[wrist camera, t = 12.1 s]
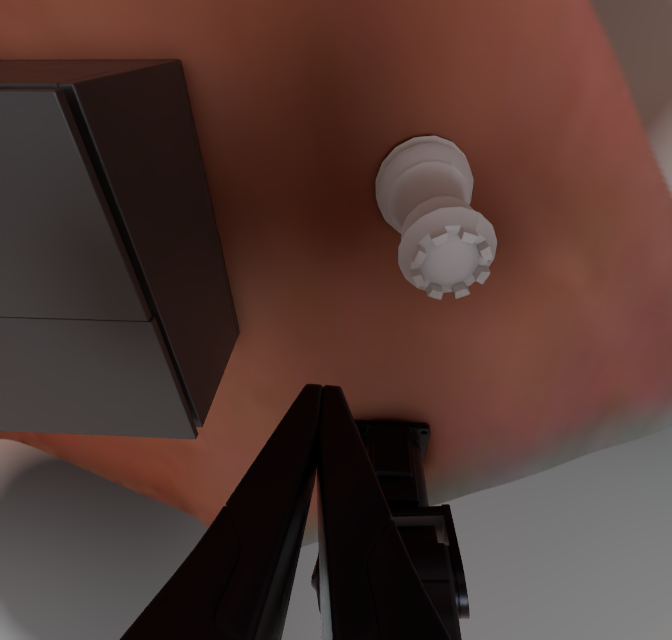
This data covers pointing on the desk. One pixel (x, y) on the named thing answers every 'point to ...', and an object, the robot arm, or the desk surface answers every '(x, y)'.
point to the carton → (113, 209)
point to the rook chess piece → (435, 216)
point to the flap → (90, 379)
